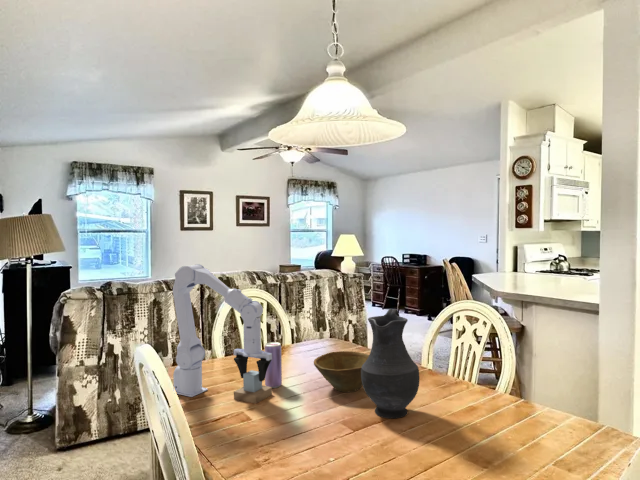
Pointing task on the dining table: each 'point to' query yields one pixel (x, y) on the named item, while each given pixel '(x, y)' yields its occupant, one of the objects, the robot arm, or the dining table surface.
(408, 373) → the pitcher
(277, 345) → the beverage can
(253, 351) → the robot arm
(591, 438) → the dining table surface
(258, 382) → the pale grey-blue block
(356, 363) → the bowl
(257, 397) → the tan block
